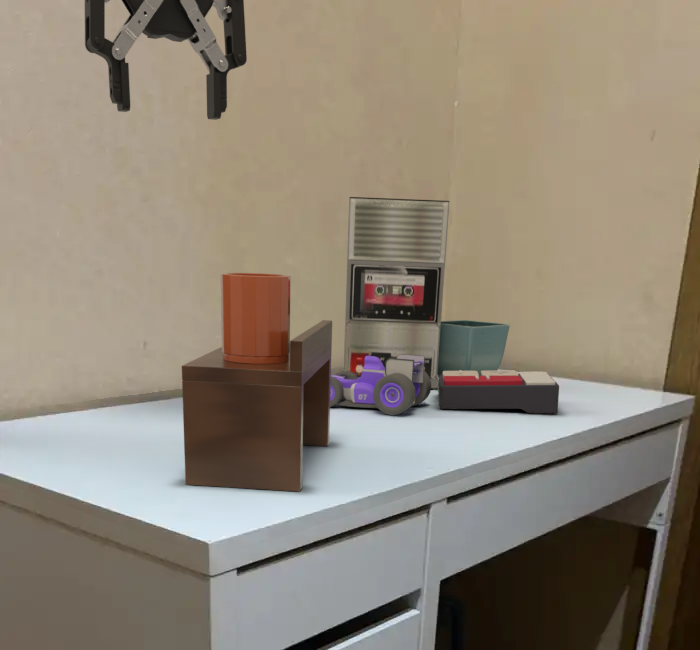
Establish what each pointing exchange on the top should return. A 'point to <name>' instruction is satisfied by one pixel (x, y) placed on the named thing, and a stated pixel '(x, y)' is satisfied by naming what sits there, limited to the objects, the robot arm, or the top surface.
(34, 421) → the top surface
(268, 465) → the brown wooden bench
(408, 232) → the cassette tape recorder
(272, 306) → the pot
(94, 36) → the robot arm
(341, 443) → the top surface
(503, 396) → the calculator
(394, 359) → the toy race car
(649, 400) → the top surface
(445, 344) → the flower pot
